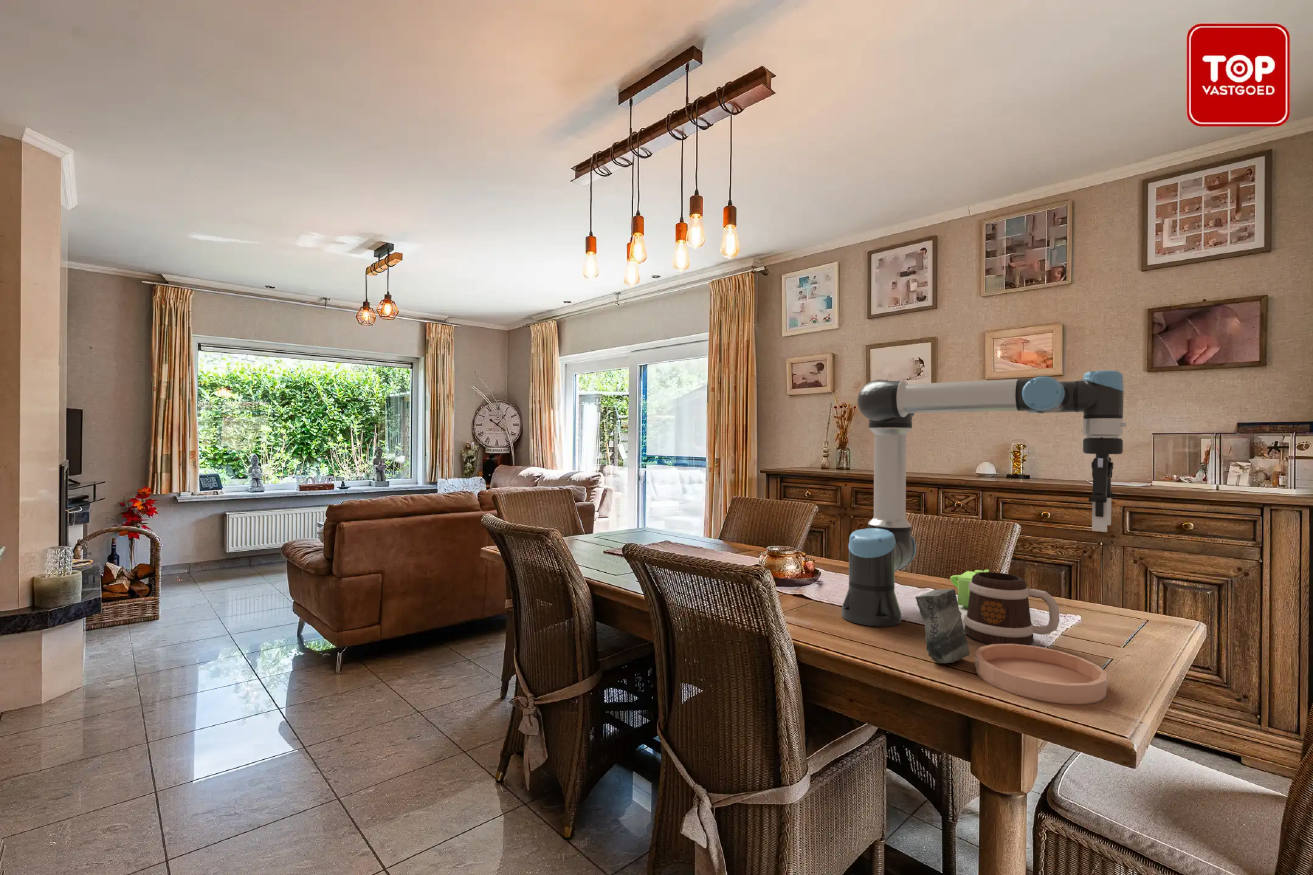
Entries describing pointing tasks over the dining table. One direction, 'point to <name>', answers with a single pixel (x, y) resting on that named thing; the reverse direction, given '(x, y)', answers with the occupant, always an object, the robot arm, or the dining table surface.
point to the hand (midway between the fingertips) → (1101, 527)
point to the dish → (1041, 673)
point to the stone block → (943, 626)
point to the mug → (1005, 610)
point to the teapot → (964, 586)
